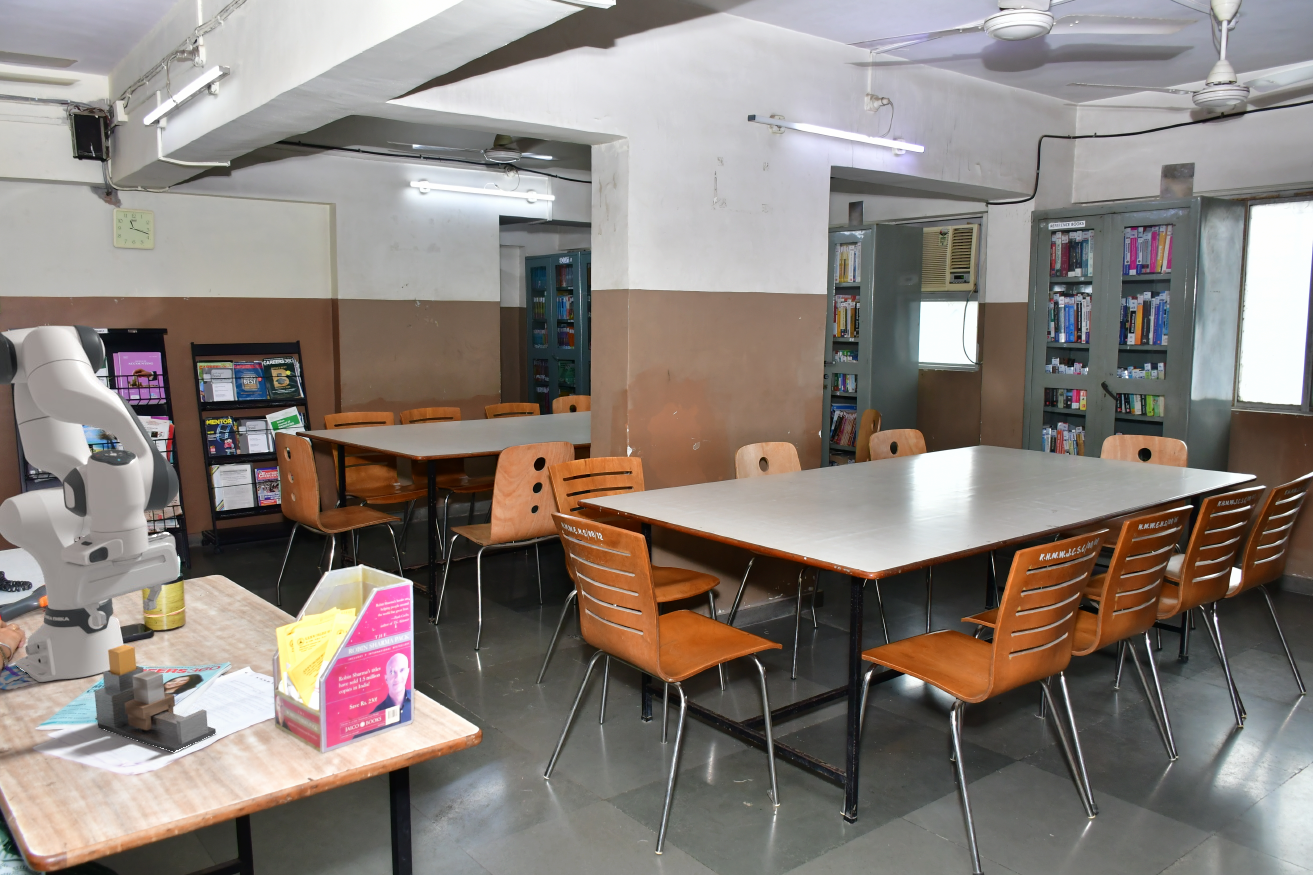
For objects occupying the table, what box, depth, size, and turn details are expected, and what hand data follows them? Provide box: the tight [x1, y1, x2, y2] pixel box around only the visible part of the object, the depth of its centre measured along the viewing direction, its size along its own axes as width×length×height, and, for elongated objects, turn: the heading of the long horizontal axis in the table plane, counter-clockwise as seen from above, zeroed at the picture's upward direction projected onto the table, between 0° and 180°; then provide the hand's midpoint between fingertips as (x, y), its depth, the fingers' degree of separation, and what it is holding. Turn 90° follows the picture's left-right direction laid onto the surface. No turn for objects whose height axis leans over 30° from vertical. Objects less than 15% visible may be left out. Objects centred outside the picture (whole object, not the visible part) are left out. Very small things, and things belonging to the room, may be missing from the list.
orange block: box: [108, 644, 137, 675], centre depth 168 cm, size 3×3×5 cm
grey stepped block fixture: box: [94, 665, 217, 752], centre depth 165 cm, size 21×8×10 cm, turn 62°
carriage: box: [125, 669, 176, 730], centre depth 166 cm, size 5×6×9 cm
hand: (125, 616), depth 167 cm, fingers open, 8 cm apart
